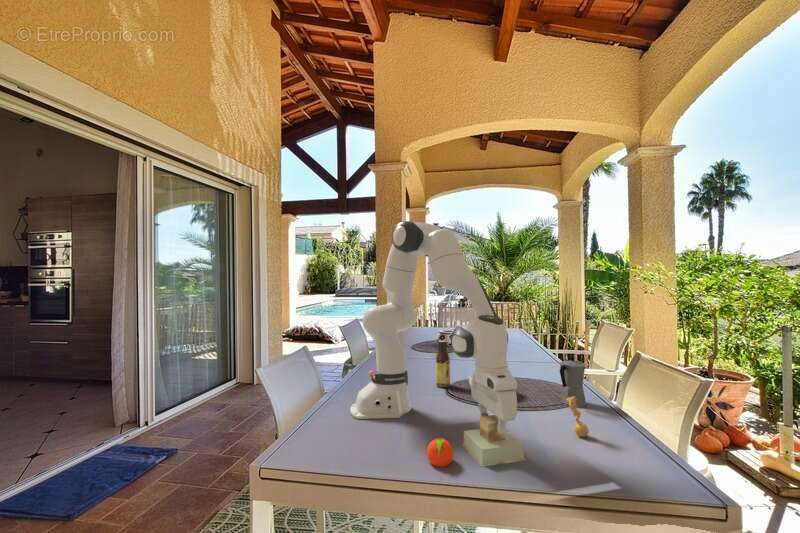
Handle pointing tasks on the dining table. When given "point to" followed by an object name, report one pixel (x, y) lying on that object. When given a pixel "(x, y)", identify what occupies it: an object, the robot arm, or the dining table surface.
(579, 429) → the figurine
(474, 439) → the plinth block
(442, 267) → the robot arm
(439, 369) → the sauce bottle
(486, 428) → the oak cube
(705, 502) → the dining table surface
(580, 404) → the coffeepot
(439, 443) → the clementine
